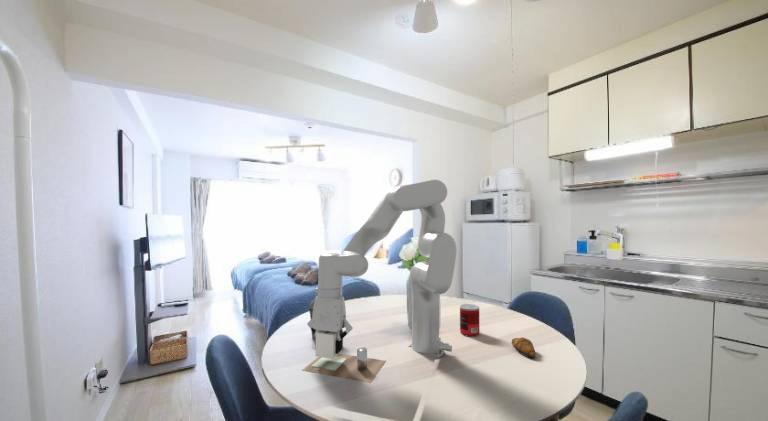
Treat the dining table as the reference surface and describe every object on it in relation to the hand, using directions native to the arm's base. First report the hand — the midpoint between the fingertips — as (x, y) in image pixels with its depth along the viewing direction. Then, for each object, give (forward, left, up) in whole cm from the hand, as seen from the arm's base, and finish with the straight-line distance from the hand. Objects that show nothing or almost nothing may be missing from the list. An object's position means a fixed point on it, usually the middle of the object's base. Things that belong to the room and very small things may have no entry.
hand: (329, 349), depth 95 cm
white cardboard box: (0, 0, -1) cm, 1 cm away
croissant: (-60, -33, -6) cm, 68 cm away
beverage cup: (+16, -21, -6) cm, 27 cm away
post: (-11, 0, -4) cm, 12 cm away
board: (-6, 0, -5) cm, 8 cm away
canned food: (-41, -45, -6) cm, 61 cm away
